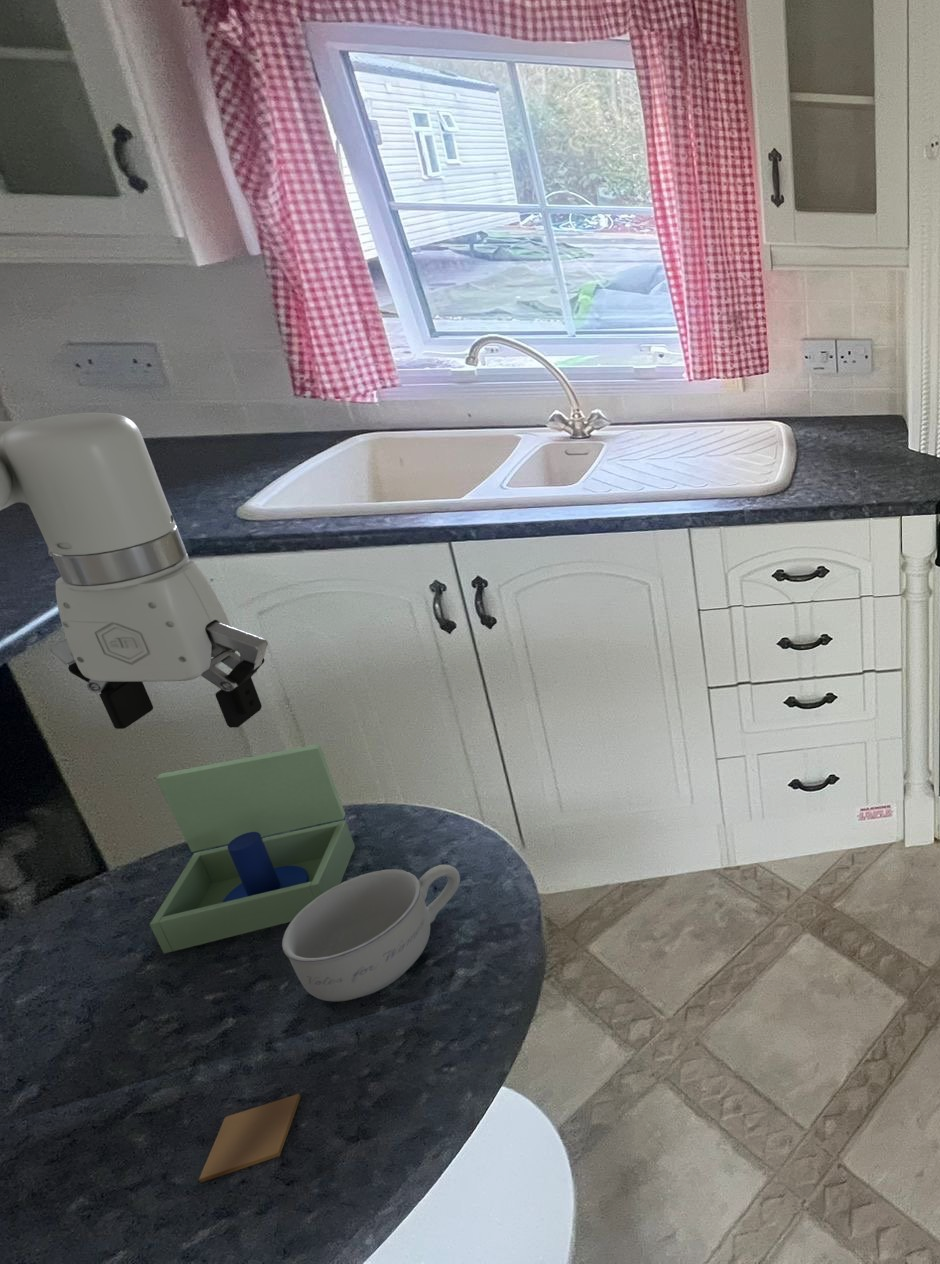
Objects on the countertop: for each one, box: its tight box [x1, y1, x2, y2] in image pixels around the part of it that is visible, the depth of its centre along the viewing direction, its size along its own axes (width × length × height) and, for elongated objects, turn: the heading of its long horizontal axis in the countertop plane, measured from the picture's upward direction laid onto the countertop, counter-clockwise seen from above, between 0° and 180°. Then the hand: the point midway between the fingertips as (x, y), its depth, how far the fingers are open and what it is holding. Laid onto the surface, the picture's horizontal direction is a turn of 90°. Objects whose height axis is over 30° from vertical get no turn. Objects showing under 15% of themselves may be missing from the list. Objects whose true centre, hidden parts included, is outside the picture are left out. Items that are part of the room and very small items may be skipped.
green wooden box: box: [149, 819, 356, 954], centre depth 88 cm, size 10×13×5 cm
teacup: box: [281, 864, 461, 1002], centre depth 82 cm, size 14×11×8 cm
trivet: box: [198, 1093, 301, 1183], centre depth 68 cm, size 5×5×1 cm
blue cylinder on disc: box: [222, 832, 309, 903], centre depth 88 cm, size 7×7×8 cm
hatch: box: [156, 743, 346, 853], centre depth 89 cm, size 10×13×1 cm
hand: (191, 718), depth 77 cm, fingers open, 9 cm apart
